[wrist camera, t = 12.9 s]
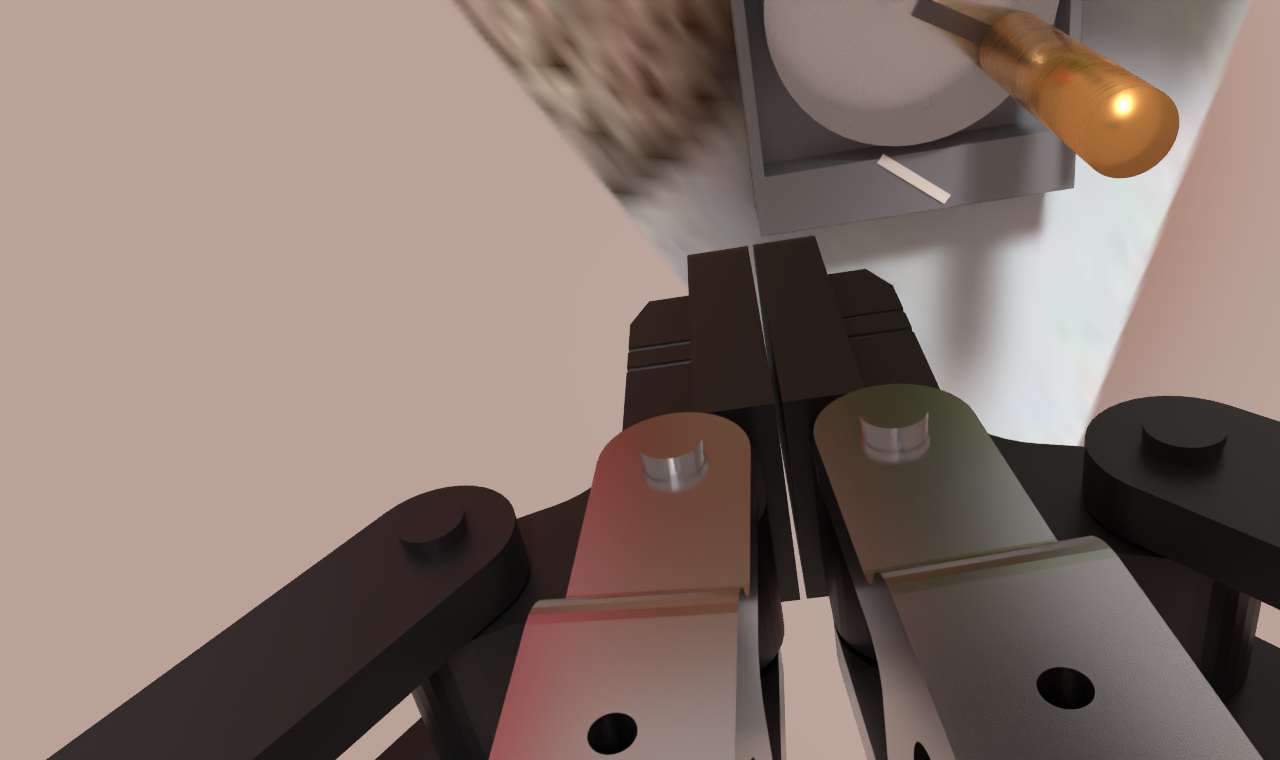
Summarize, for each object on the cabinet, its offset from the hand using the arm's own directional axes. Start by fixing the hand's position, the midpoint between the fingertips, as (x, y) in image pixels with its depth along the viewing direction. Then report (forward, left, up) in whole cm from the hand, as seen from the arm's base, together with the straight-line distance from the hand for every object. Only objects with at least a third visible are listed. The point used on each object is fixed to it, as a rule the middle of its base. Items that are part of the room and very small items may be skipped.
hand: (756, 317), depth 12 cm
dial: (+2, +7, -27) cm, 28 cm away
